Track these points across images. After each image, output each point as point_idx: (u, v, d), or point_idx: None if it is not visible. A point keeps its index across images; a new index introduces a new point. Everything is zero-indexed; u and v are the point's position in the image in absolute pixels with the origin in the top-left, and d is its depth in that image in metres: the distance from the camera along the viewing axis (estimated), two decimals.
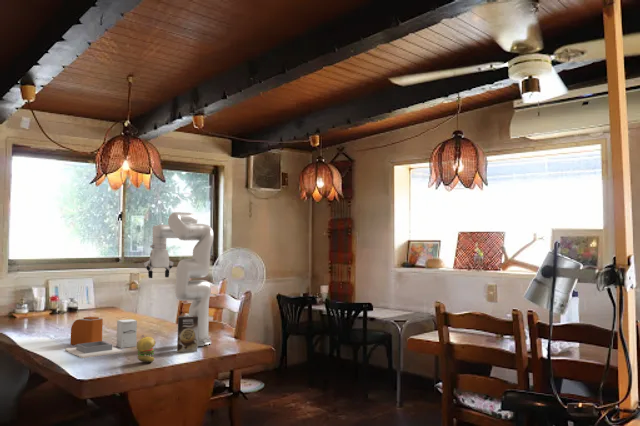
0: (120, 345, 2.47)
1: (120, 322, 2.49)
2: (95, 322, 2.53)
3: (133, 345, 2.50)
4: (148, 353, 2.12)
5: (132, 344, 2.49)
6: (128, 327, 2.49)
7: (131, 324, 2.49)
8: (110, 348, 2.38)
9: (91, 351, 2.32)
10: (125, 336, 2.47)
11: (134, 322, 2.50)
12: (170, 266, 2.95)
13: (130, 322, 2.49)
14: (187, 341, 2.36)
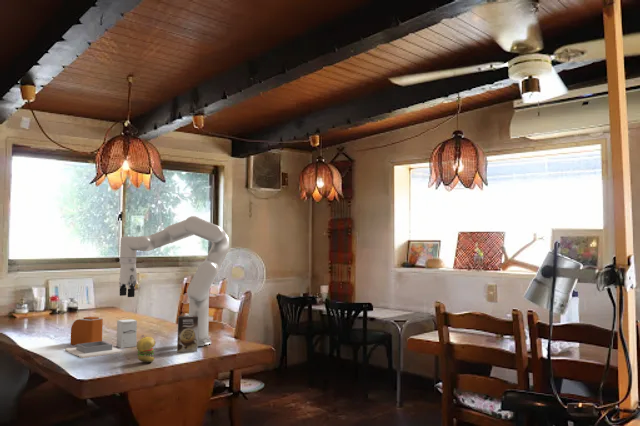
0: (120, 345, 2.47)
1: (120, 322, 2.49)
2: (95, 322, 2.53)
3: (133, 345, 2.50)
4: (148, 353, 2.12)
5: (132, 344, 2.49)
6: (128, 327, 2.49)
7: (131, 324, 2.49)
8: (110, 348, 2.38)
9: (91, 351, 2.32)
10: (125, 336, 2.47)
11: (134, 322, 2.51)
12: None
13: (130, 322, 2.49)
14: (187, 341, 2.36)
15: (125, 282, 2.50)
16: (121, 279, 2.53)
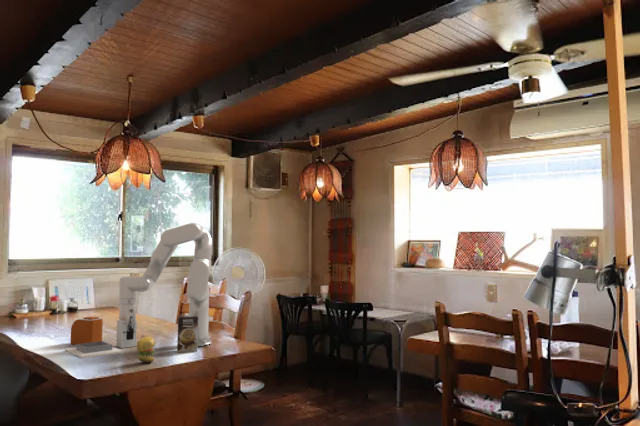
0: (120, 345, 2.47)
1: (120, 322, 2.49)
2: (95, 322, 2.53)
3: (133, 345, 2.50)
4: (148, 353, 2.12)
5: (132, 344, 2.49)
6: None
7: None
8: (110, 348, 2.38)
9: (91, 351, 2.32)
10: (125, 336, 2.47)
11: None
12: None
13: (130, 322, 2.49)
14: (187, 341, 2.36)
15: None
16: None
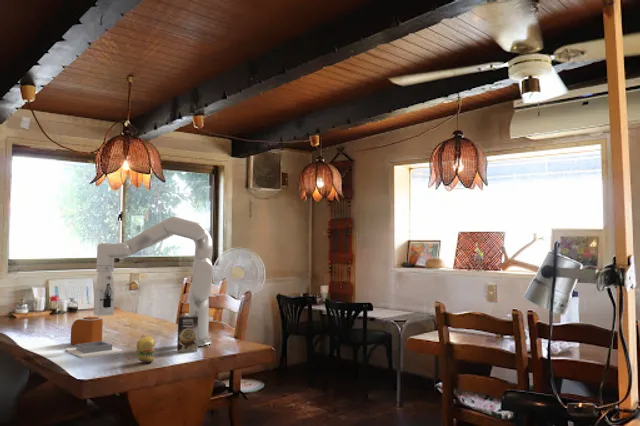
0: (97, 313, 2.39)
1: (97, 289, 2.41)
2: (95, 322, 2.53)
3: (110, 313, 2.42)
4: (148, 353, 2.12)
5: (109, 312, 2.42)
6: None
7: None
8: (110, 348, 2.38)
9: (91, 351, 2.32)
10: (101, 304, 2.39)
11: None
12: None
13: (107, 289, 2.41)
14: (187, 341, 2.36)
15: None
16: None
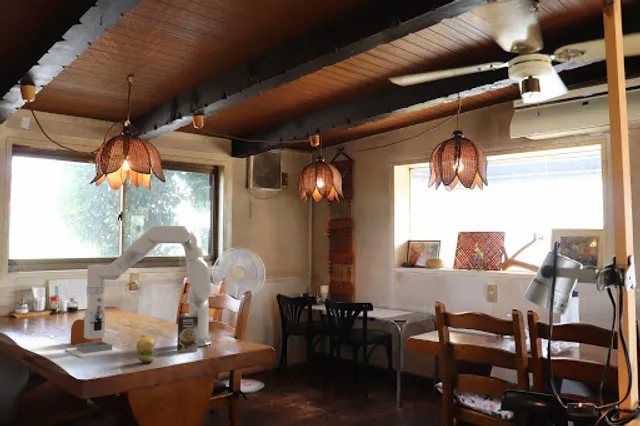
0: (87, 336, 2.35)
1: (87, 312, 2.37)
2: None
3: (101, 336, 2.38)
4: (148, 353, 2.12)
5: (100, 335, 2.38)
6: None
7: None
8: (110, 348, 2.38)
9: (91, 351, 2.32)
10: (92, 327, 2.35)
11: None
12: None
13: None
14: (187, 341, 2.36)
15: None
16: None
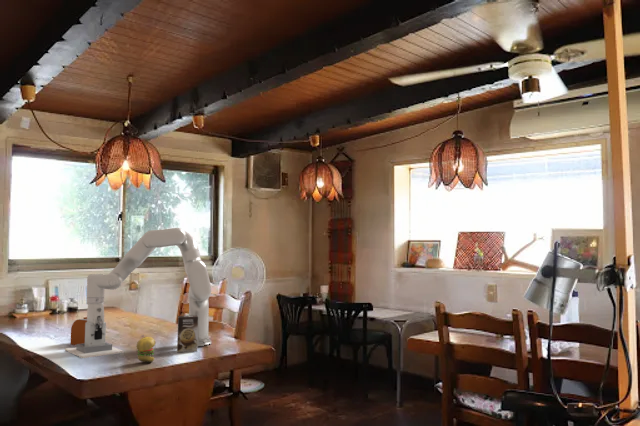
0: None
1: (88, 324, 2.37)
2: None
3: None
4: (148, 353, 2.12)
5: None
6: None
7: None
8: (110, 348, 2.38)
9: (91, 351, 2.32)
10: (93, 339, 2.35)
11: None
12: None
13: None
14: (187, 341, 2.36)
15: None
16: (88, 320, 2.39)
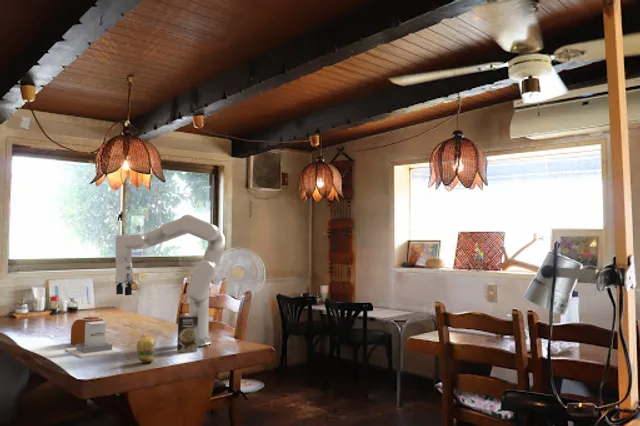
0: None
1: (88, 324, 2.37)
2: None
3: None
4: (148, 353, 2.12)
5: None
6: (97, 329, 2.36)
7: (99, 326, 2.37)
8: (110, 348, 2.38)
9: (91, 351, 2.32)
10: (92, 339, 2.35)
11: (103, 324, 2.38)
12: None
13: (98, 324, 2.37)
14: (187, 341, 2.36)
15: (122, 280, 2.50)
16: (117, 278, 2.54)
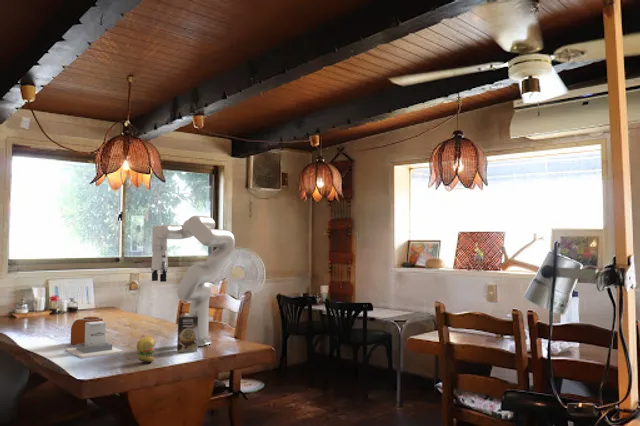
0: None
1: (88, 324, 2.37)
2: None
3: None
4: (148, 353, 2.12)
5: None
6: (97, 329, 2.36)
7: (99, 326, 2.37)
8: (110, 348, 2.38)
9: (91, 351, 2.32)
10: (92, 339, 2.35)
11: (103, 324, 2.38)
12: None
13: (98, 324, 2.37)
14: (187, 341, 2.36)
15: (157, 268, 2.69)
16: (153, 265, 2.73)
